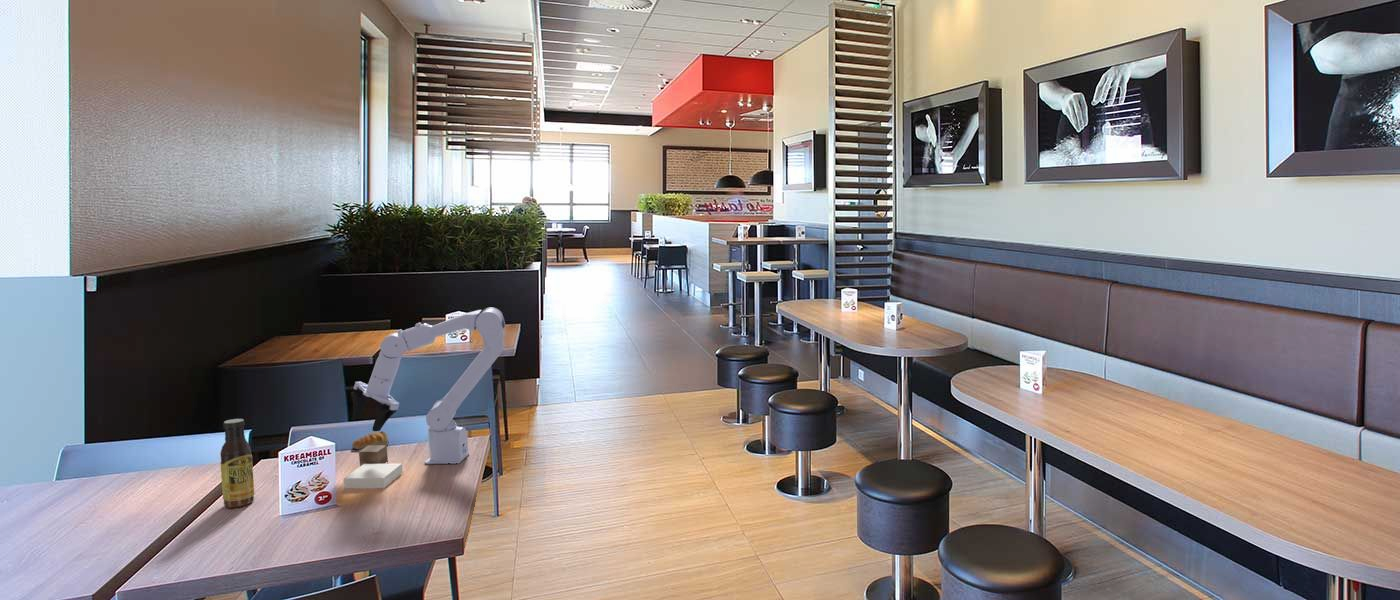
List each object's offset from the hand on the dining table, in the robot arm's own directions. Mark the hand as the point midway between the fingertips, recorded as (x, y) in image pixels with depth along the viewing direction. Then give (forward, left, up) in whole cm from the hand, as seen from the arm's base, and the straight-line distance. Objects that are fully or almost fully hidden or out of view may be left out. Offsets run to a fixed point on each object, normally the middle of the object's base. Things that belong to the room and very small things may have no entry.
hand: (366, 424), depth 190 cm
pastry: (+7, -16, -12) cm, 21 cm away
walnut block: (-2, +1, -11) cm, 11 cm away
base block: (-7, +11, -12) cm, 17 cm away
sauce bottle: (+18, +25, -11) cm, 33 cm away
